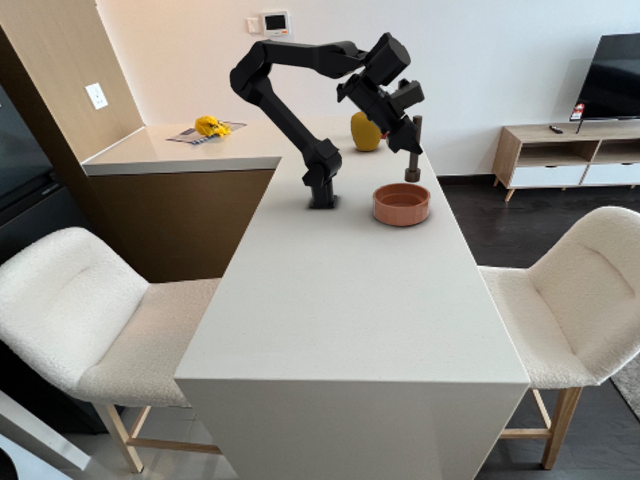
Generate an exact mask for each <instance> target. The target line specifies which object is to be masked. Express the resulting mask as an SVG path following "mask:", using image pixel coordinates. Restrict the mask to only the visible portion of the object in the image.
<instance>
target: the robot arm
mask: <svg viewBox="0 0 640 480" xmlns="http://www.w3.org/2000/svg"><path fill="white" fill-rule="evenodd" d="M411 58H412V57H411V55H410V53H409V51H408V49H407V48H406V46H405V45H404V44H402V43H401V42H400V41H399V40H398V39H397V38H395V37H394V36H393V35H392V34H391V31H387V32H383V33H382V35H381V36H380V37H379V38H378V40H377V42H376V43H375V45H373V47H371V49H370V50H369V51H367V50H364V49H360V48H358V46H357V45H356V43H355V42H353V41H351V40H342V41H335V42H334V41H333V42H328V43H323V44H322V43H321V44H310V43H308V44H307V43H297V42H289V41H277V40H273V39H270V38H267V39H266V38H265V39H262V40H256V41H255V42H254V43H252V45H251V47H250V49H249V51H247V53H246V54H245V55H244V56H243V57H242V58H241V59H240V60H239V61H238V62H237V63H236V65H235V67H233V68H232V69H231V70H230V71H229V76H228V77H229V86H230V88H231V90H232V91H233V93H234V94H236V95H237V96H238V97H239V98H240V99H242V100H243V101H244V102H246V103H247V104H250V105H253V106H255V107H257V108H259V109H260V111H262V112H263V113H264V115H265V116H266V117H267V118H268V119H269V120H270V121H271V122H272V124H274V125H275V126H276V127H277V128H278V130H280V132H281V133H282V134H283V135H284V136H285V137H286V138H287V139H288V140H289V142H290V143H292V145H293V146H294V147H295V148H296V149H297V150H298V151H299V152H300V153H301V157H302V159H303V163H304V166H305V167H306V168H307V171H306V172H305V173H304V174H303V175H302V177H301V181H302V183H303V185H304V186H305V187H310V192H311V201H310V203H309V205H308V207H309V209H334V208H335V206H336V201H337V198H338V196H337V194H335V193H334V185H333V184H334V183H333V178H334V177H336V176H337V175H338V171H339V170H341V168H342V166H343V157H342V154H341V153H340V148H338V147H336V145H334V144H333V141H331V139H330V138H328V137H326V138H324V139H322V140H321V139H319V138H317V137H316V136H315V135H314V134H313V133H312V132H311V131H310V130H309V129H308V127H306V125H305V124H304V123H303V122H302V121H301V120H300V118H298V117H297V115H296V114H295V113H294V112H293V111H292V110H291V109H290V108H289V107H288V106H287V104H285V103H284V102H283V101H282V99H281V98H280V97H279V96H278V95H277V94H276V92H275V90H274V88H273V85H272V84H273V83H272V81H271V79H270V77H269V75H270V74H271V72H272V71H273V66H274V65H280V66H281V65H282V66H289V67H297V68H304V69H309V70H312V71H314V72H316V73H317V74H318V75H320V76H324V77H326V78H329V79H331V80H339V79H341V78H344V77H346V76H349V75H350V77H349V78H347V80H346V81H345V82H342V83H341V82H338V84H337V86H336V87H335V91H336V102H337V103H338V104H340V103H341V102H342V101H343V100H345V98H346V97H347V99H349V101H351V102H352V104H353V105H354V106H356V108H357V109H358V110H359V111H362V112H363V113H364V114H365V115H366V118H367V119H368V120H369V121H370V122H372V123H373V124H374V125H375V126H376V127H377V128H378V129H379V130H380V132H381V133H382V134H383V135H385V134H386V133H387V132H389V133H388V134H387V135H386V138H385V143H386V145H387V148H388V149H389V150H390V151H391V152H392V153H393V154H397V153H398V152H399V151H401V150H402V151H406V152H409V153H410V152H412V153H415V154H418V155H419V156H421V155H422V154H423V153H424V150H423V148H422V146H421V144H420V145H419V143H418V141H417V140H416V138H415V136H414V135H415V134H416V133H417V132H418V130H419V129H418V128H417V126H416V125H415V124H414V123H413V120H412V119H411V118H410V116H409V114H407V113H406V110H407V109H409V108H411V107H413V106H414V105H416V104H420V103H423V101H425V99H426V97H425V94H424V91H423V88H422V85H421V83H420V81H418V80H417V79H415V80H414V79H412V80H411V81H409V80H408V79H407V78H406V77H403V78H401V79H400V80H398V82H397V89H395V92H394V93H392V94H391V95H390V94H389V93H388V92H387V91H384V90H383V89H382V88H381V86H388V85H390V84H391V83H393V82H394V81H395V79H397V78H398V77H399V76H400V75H401V74H402V73H403V72H404V71H405V70H406V69H407V68H408V67H409V66H410V65H411V64H412V59H411ZM363 67H364V68H363ZM362 68H363V69H362ZM359 69H362V70H361V71H360V72H359V73H355V72H356V71H357V70H359Z"/></svg>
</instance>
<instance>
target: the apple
mask: <svg viewBox="0 0 640 480" xmlns="http://www.w3.org/2000/svg"><path fill="white" fill-rule="evenodd" d="M349 123H350V124H349V125H350V134H351V137H352V140H353V142H354V145H355V147H356V149H357V150H358V151H362V152H364V151H365V152H369V151H374V150H376V149H377V147H378V146H379V144H380V142H381V141H382V140H381V139H382V138H381V136H382V133H381V132H380V130H379V129H378V128H377V127H376V126H375V125H374V124H373V123H372V122H370V121H369V120H368V119H367V118H366V115H365V114H364V113H363V112H362V111H361V110H359V111H357V112H355V113H354V114H353V115H351V118H350V122H349Z"/></svg>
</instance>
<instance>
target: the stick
mask: <svg viewBox="0 0 640 480" xmlns="http://www.w3.org/2000/svg"><path fill="white" fill-rule="evenodd" d="M412 121H413V123H414V124H415V125H416V126H417V128H418V129H419V130H418V132H417V133H416V134H415V135H414V136H415V138H416V140H417V141H418V143H419V145H420V146H421V139H422V137H421V135H422V128H423V126H422V125H423V115H420V114H416V115H413V116H412ZM419 156H420V155H418V154H415V153H412V152H409V160H408V167H407V168H405V169H404V177H403V178H404V182H405V183H411V184H417V183H419V182H420V181H421V174H422V173H421V171H422V170H421V169H422V168H419Z"/></svg>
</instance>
